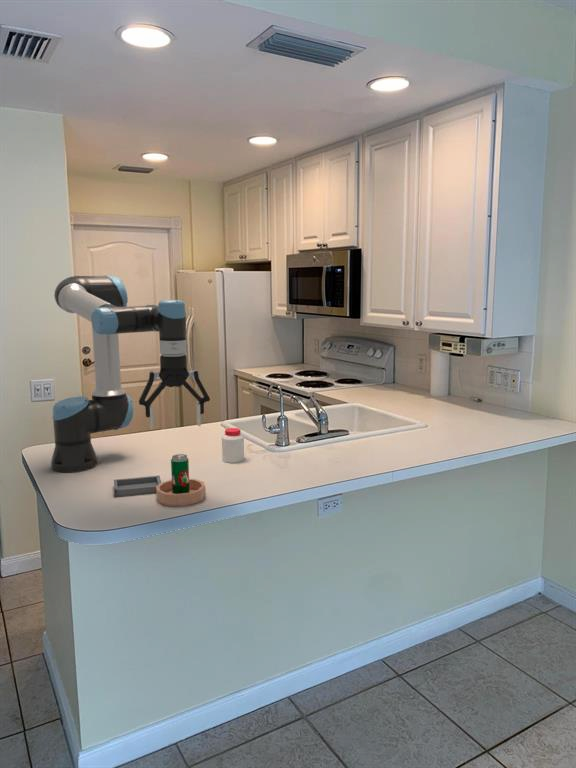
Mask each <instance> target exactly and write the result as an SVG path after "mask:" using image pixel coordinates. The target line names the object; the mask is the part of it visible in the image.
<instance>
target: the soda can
mask: <svg viewBox="0 0 576 768" xmlns="http://www.w3.org/2000/svg"><path fill="white" fill-rule="evenodd" d="M189 463H190V462H189V458H188V455H187V454H182V453H179V454H178V453H177V454H174V455H172V456H171V459H170V470H171V473H170V474H171V480H172V493H173V494H181V493H189V492H190V489H189V479H190V467H189Z"/></svg>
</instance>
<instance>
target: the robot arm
mask: <svg viewBox="0 0 576 768" xmlns="http://www.w3.org/2000/svg"><path fill="white" fill-rule="evenodd" d="M54 300H55V301H54V302H55V303H56V304H57V306H58V307H59V308H60V309H61V310H63V311H64V312H67V313H70V314H76V315H78V316H80V317H81V318H83V319H86V320H87V321H88V322H90V323H91V328H92V329H91V331H92V346H93V348H92V349H93V360H94V361H93V363H94V364H93V365H94V376H95V377H94V379H95V389H94V390H93V391H92V393H91V399H89V398H88V397H87V396H72V397H68V398H64V399H62V400H59V401H57V402H55V403H54V405H53V407H52V420H53V421H52V422H53V432H54V433H53V434H54V448H53V453H52V458H51V461H50V465H51V470H53V471H55V472H59V473H74V472H82V471H87V470H90V469H93V468H95V467H96V466H97V465H98V463H99V462H98V456H97V453H96V451H95V449H94V446H93V444H92V437H91V434H96V433H103V432H106V431H107V432H108V431H113V430H114V431H117V430H119V429H123V428H126V427H128V426H129V425H130V423H132V419H133V417H134V403H133V400H132V398H131V397H130V396H129V395H128V394H127V391H126V390H125V389H123V388H122V380H121V379H122V377H121V375H122V374H121V360H120V358H121V357H120V340H119V334H120V335H121V334H128V333H129V334H130V333H131V334H133V333H146V332H147V333H151V332H158V334H159V335H158V337H159V338H158V339H159V341H158V342H159V353H160V354H161V355H160V357H159V366H160V367H159V368H160V371H159V372H154V371H152V370H151V371H149V373H148V380H147V382H146V385H145V386H144V388H143V391H142V393H141V394H140V397H139V399H138V404H139V405H140V406H144V407H145V417H146V418H149V429H150V430H153V429H154V413H153V412H154V411H153V403H154V402H155V400H156V398H157V397H158V396H159V395H160V394H161V392H162V391H163V390H164V389H165V388H166V387H168V388H173V387H176V388H181V386H183V387H185V389H186V390H187V391H188V392H189V394H191V395H192V396H193V398H195V400H196V401H198V402H195V403H196V404H195V405H196V406H195V407H196V425H197V427H201V426H202V425H201V423H202V422H201V420H202V419H201V415H204V413H205V403H206V402H210V400H211V399H210V397H209V394H208V392H207V391H206V389H205V387H204V386H203V385H204V384H202V381H201V380H200V376H199V372H198V370H197V369H193V370H190V371H188V366H187V365H188V360H187V359H188V358H187V357H188V356H187V355H186V353H187V313H186V303H185V301H183V300H181V299H180V300H179V299H165V300H159V302H158V305H156V304H146V305H140V306H139V305H138V306H137V305H135V306H128V300H129V299H128V293H127V289H126V285H125V284H124V282H123V280H121V278H119V277H118V276H115V275H113V276H112V275H107V274H106V275H73V276H69V277H66V278H64V279H63V280H61V281H60V282H59V283H58V284H57V286H56V288H55V290H54ZM189 376H190V377H191V378H192V379H194V382H195V383H196V385H197V386H198V389H199V390H200V392H201V394H202V395H203V397H201V396H200V395H199V393H198V392H197V391H196V390H195V389H194V388H193V387H192V386H191V385H190V384H189V383H188V381H187V379H188V378H189ZM158 377H159V378H160V380H161V381H160V383H159V385H158V386H157V387H156V388H155V390H154V391H153V392H152V393H151V394H150V396H149V397H148V398H147V396H148V394H149V392H150V391H151V389H152V386H153V384H154V381H156V380H157V379H158Z"/></svg>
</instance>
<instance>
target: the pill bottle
mask: <svg viewBox="0 0 576 768" xmlns="http://www.w3.org/2000/svg"><path fill="white" fill-rule="evenodd" d="M221 453H222V454H221V458H222V459H221V460H222V462H224V463H227V462H229V464H236V462H238V463H241V462H243V461H245V436H244V435H243V434H242V433H241V429H240V428H238V427H229V428H225V429H224V434H223V435H222V437H221Z"/></svg>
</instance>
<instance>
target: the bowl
mask: <svg viewBox="0 0 576 768" xmlns="http://www.w3.org/2000/svg"><path fill="white" fill-rule="evenodd" d="M189 489H190V492H189V493H181V494H173V493H172V479H169V480H166V481H161V483H160V484H159V485H158V486H156V493H155V496H156V501H157V502H158V503H160V504H161V505H164V506H168V507H169V506H170V507H185V506H186V507H187V506H191V505H195V504H198V503H200V502H201V501H203V500H204V499H205V498H206V494H207V493H206V491H207V490H206V485H205V482H204V481H202V480H200V479H196V478H189Z"/></svg>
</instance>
